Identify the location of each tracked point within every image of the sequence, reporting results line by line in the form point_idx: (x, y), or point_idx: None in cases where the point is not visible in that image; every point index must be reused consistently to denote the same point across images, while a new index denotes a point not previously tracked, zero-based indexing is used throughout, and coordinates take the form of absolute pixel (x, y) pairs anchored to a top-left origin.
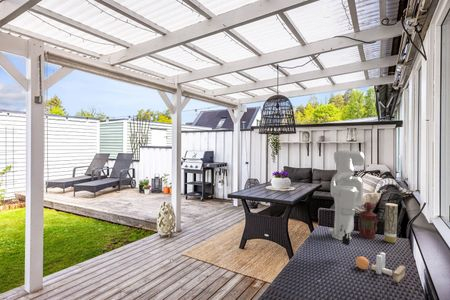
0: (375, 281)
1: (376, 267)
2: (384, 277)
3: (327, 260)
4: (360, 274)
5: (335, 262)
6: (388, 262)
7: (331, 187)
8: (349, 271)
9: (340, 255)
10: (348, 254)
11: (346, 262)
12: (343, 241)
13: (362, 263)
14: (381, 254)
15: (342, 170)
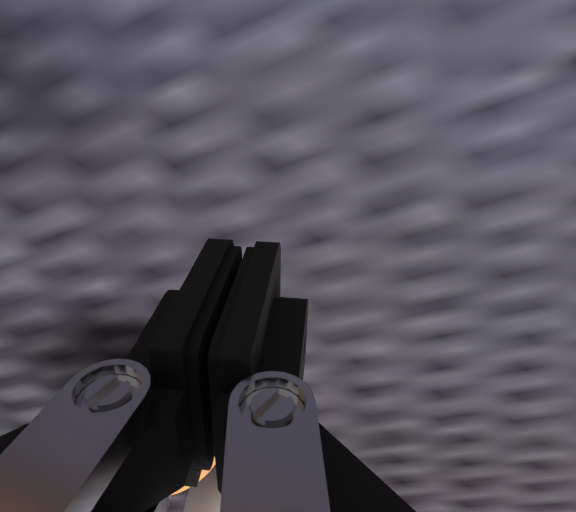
0: None
1: (188, 506)
2: (176, 503)
3: (12, 18)
4: (47, 392)
5: (63, 131)
6: (550, 485)
7: None
8: (5, 317)
9: (372, 77)
10: (509, 148)
11: (193, 226)
12: (160, 307)
13: None
14: None
15: None
